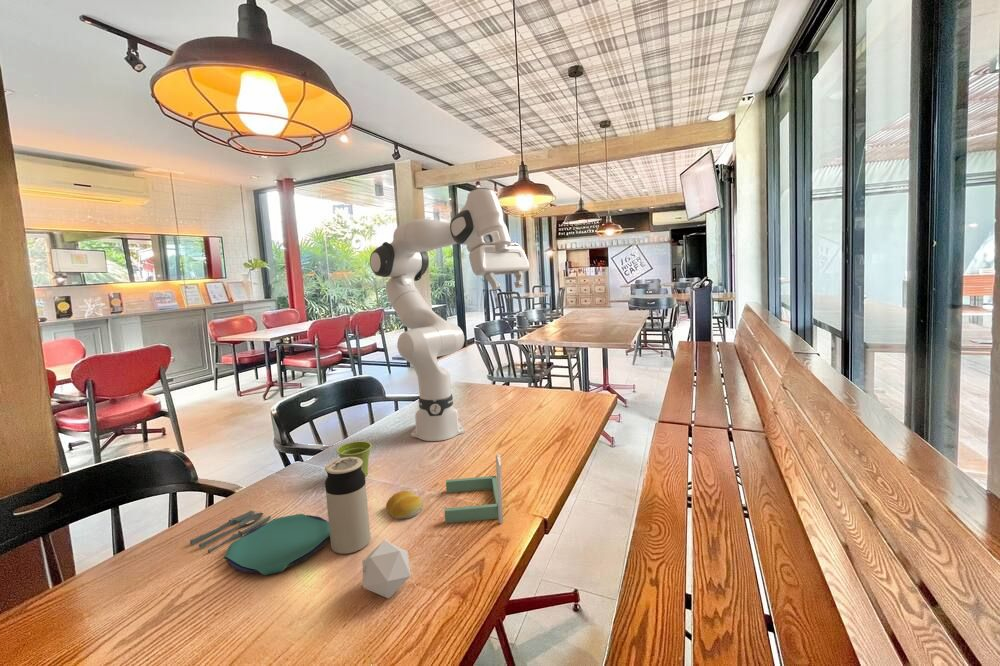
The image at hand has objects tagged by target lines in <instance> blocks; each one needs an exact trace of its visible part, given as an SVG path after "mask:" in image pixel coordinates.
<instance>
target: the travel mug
mask: <svg viewBox="0 0 1000 666" xmlns="http://www.w3.org/2000/svg"><path fill="white" fill-rule="evenodd" d="M362 463H363V461H362V460H361V459H360V458H357V457H344V458H340V457H339V458H337V459H333V460H331V461H330V462H328V463H327V464H325V466H324V471H325V472H326V475H327V477H326V478H325V481H324V485H325V486H324V488H325V499H326V507H327V516H328V518H327V519H328V522H329V529H330V537H329V538H330V545H331V550H332V551H333V552H335V553H336V554H340V555H342V554H344V555H345V554H352V553H356V552H358V551H359V550H361V549H364V548H365V547H366V546H367V545H368V544H369V543H370V541H371V531H370V530H371V529H370V519H369V507H368V506H369V505H368V496H367V495H368V494H367V493H368V492H367V484H366V477H365V474H364V473H363V471H362V470H361V465H362Z"/></svg>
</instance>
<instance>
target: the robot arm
mask: <svg viewBox="0 0 1000 666" xmlns="http://www.w3.org/2000/svg"><path fill="white" fill-rule="evenodd" d="M466 198H467V199H466V202H465V204H463V207H462V208H461V209H460V210H459V212H458V213H456V214H455V215H454V216H453V217H452V219H451V221H450V222H447V221H440V220H435V219H428V218H417V219H412V220H409V221H406V222H404V223H402V224H400V225H399V226H397V227H396V228H395V229H394V232H393V236H392V237H393V238H392V241H391V242H390V243H389V242H387V241H385V242H383V243H382V244H381V245H380V246H378V247H376V248H375V249H374V250H373V251H372V253H371V254H370V257H369V265H370V269H371V272H372V273H373V274H375V276H377V277H381V278H389V280H388V281H387V282H386V284H385V292H386V295H387V298H388V301H389V302H390V305H391V306H392V308H393V310H394V312H395V313H396V315H397V316H398V318H399V320H400V322H401V323H402V325H403V326H404V327H406V328H408V330H406V331H403V332H402V333H400V335H399V337H398V339H397V341H396V342H397V345H396V347H397V348H396V349H397V351H398V354H399V355H400V356H401V358H403V359H404V360H405V361H407V362H408V363H410V365H411V366H412V367H413V369H414V370H415V373H416V376H417V382H418V391H419V392H418V393H419V396H418V407H419V408H418V410H417V411H416V412H415V414H414V415H415V416H414V417H415V428H414V429H413V431H411V433H410V434H411V435H410V436H411V438H417V439H420V440H423V441H426V442H437V441H438V442H439V441H445V440H449V439H452V438H454V437H456V436H458V435H461V434H464V433H465V428H464V427H463V426H462V424H461V423H460V420H459V417H458V415H459V414H458V410H457V408H455V407H454V406H453V404H454V398H453V394H452V388H451V385H452V384H451V374H450V373H449V371H448V370H447V369H446V368H444V367H441V366H440V365H439V363H438V360H437V358H439V357H443V356H448V355H451V354H453V353H455V352H457V351H459V350H461V349H462V348H463V347H464V344H465V335H464V334H465V333H464V331H463V330H462V329H461V327H460V326H458V325H456V324H453V323H451V322H449V321H447V320H445V319H444V318H442V317H441V316H440V315H439V314H437V313H436V312H435V311H434V310H433V309H432V308H431V307H430V306H429V304H428V303H427V302H426V301H425V299H424V297H423V296H422V295H421V292H419V290H418V288H417V287H416V286H415V285H416V284H415V282H418V281H420V280H421V279H422V276H424V274H425V273H426V271H427V270H428V268H429V263H430V262H429V261H430V260H429V257H428V253H427V252H429V251H434V250H438V249H440V248H441V249H442V248H445V247H448V246H452V245H456V244H458V245H464V246H466V250H467V252H469V253H468V259H469V263H470V267H471V270H472V272H473V274H474V275H476V276H484V277H485V280H486V281H487V282H488V283H489V284H490V286H491V289H492V290H493V291H495V290H496V291H497V290H500V288H501V285H500V282H499V281H497V280H496V279H495V277H494V276H495V275H497V276H498V275H513V276H514V278H515V282H514V287H515V289H520V288H523V286H524V284H523V281H522V280H523V274H524V273H526V272H528V271H529V270H530V262H529V260H528V258H527V255H526V253H525V250H524V249H523V248H522V246H520V244H518V243H517V242H512V240H511V237H510V233H509V229H508V227H507V224H506V222H505V220H504V212H503V209H502V206H501V202H500V200H499V197H498V195H497V194H496V192H495V191H494V190H493V189H491V188H486V187H481V188H480V187H479V188H478V187H477V188H474V189H472V190H471V191H469V193H467V197H466Z"/></svg>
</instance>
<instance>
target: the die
mask: <svg viewBox="0 0 1000 666" xmlns="http://www.w3.org/2000/svg"><path fill="white" fill-rule="evenodd" d="M361 562H362V582H363V583H362V586H363V587H362V588H364V589H366V590H368V591H370V592H373V593H374V594H377V595H379V596H381V597H384V598H386V599H388V600H389V599H391V597H392V596H393V595H394V594H396V592H398V590H399V589H400V588H401V587H402V586H403V585H404V584H405V583H406V582H407V581H408V580H409V579H410V578H411V577H412V575H411V569H410V568H411V567H410V560H409V551H408V550H405V549H404V548H402V547H399V546H397V545H395V544H393V543H391V542H389V541H387V540H385V539H384V540H383V541H381V542H380V543H379V544H378V545H377V547H375V548H374V549H373V550H372V551H371V552H370V553H369V554H368V555H367V556H365V558H364V559H363V560H362V561H361Z"/></svg>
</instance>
